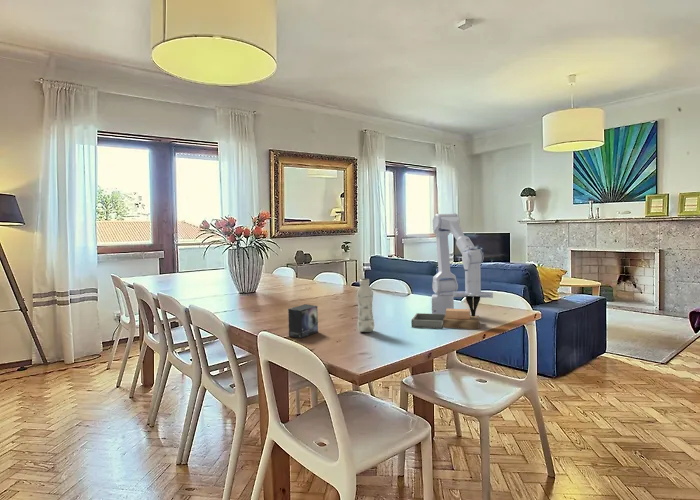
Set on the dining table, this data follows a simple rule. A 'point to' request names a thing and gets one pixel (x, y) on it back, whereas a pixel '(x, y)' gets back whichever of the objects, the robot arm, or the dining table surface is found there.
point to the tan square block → (452, 313)
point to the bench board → (462, 323)
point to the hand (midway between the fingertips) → (473, 315)
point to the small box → (303, 320)
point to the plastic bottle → (365, 307)
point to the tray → (428, 320)
